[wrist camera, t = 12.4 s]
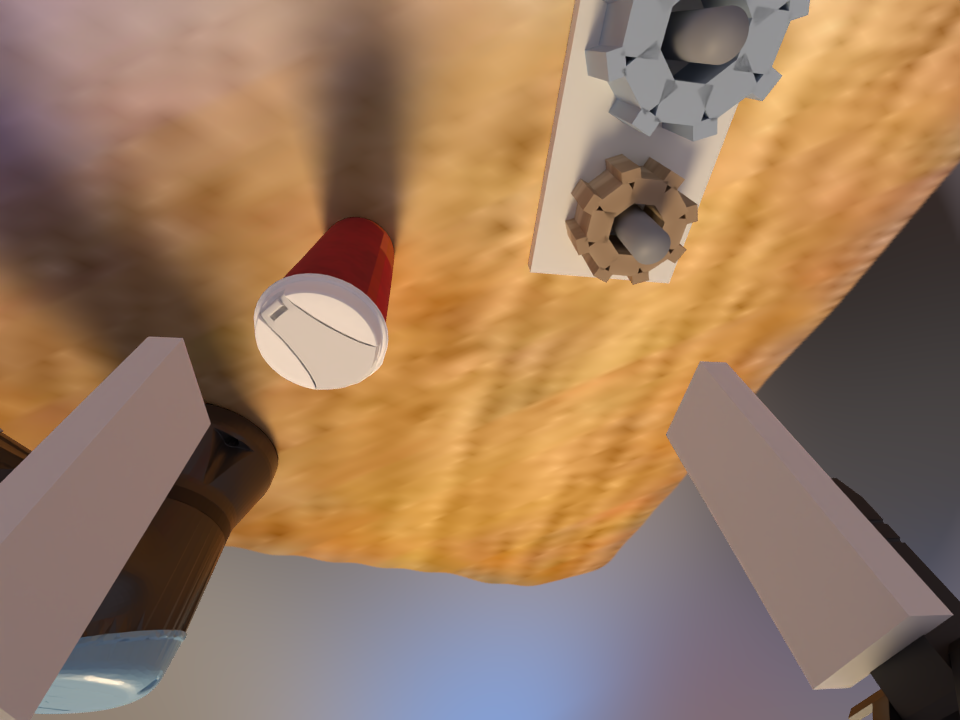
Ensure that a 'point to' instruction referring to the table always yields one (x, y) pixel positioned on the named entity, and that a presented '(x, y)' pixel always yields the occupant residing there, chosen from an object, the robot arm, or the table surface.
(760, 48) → the gray gear
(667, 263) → the gear board
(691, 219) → the beech gear
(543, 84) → the table surface
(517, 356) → the table surface
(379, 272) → the paper cup
